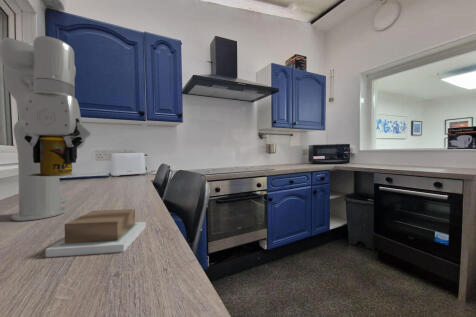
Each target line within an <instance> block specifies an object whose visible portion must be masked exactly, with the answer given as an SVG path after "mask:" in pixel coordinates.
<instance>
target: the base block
mask: <svg viewBox="0 0 476 317" xmlns="http://www.w3.org/2000/svg"><path fill="white" fill-rule="evenodd" d="M135 222H136V209H134V208H132V209H131V208H130V209H110V210H109V209H106V210H105V209H104V210H103V209H102V210H91V211H90V212H88V213H85V214H83V215H81V216H80V217H77V218H75V219H73V220H70V221H68V222H66V223H64V239H65V244H67V243H84V242H101V241H118V240H119V239H120V238H121V237H122V236H123V235H124V234H125V233H126V232H127V231H128V230H130V229H131V228H132V227H133V226H134V225H135Z"/></svg>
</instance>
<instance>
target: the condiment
mask: <svg viewBox="0 0 476 317" xmlns="http://www.w3.org/2000/svg"><path fill="white" fill-rule="evenodd" d="M65 147H67V144H66V142H65V139H64V137H63V135H42V138H41V139H40V173H33V174H31V175H29V176H26V177H34V176H37V177H38V176H40V177H43V176H60V177H68V176H69V177H70V176H73V175H75V173H76V172H73V163H65Z"/></svg>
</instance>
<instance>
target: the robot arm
mask: <svg viewBox="0 0 476 317" xmlns="http://www.w3.org/2000/svg"><path fill="white" fill-rule="evenodd" d="M0 60H1V63H2V65H3V66H4V69H3V80H4V84H5V86H6V89H7V90H8V92H9V94H10V95H11V97H12V98H13V99H14V100H15V102H16V108H17V110H16V111H17V115H18V118H19V120H18V121H16V123H15V124H14V126H13V135H14V140H15V144H16V149H17V150H16V151H17V160H18V161H17V162H18V164H17V165H18V212H16V213H14V214H12V215H11V220H12V221H15V222H23V221H24V222H26V221H34V220H43V219H47V218H50V217H51V218H52V217H57V216H59V215H62V214H64V213H66V211H67V210H66V209H67V208H66V207H63V206H62V205H63V204H66V203H67V202H68V198H67V197H62V198H61V193H60V192H61V188H60V187H61V186H60V185H61V184H60V183H61V182H60V177H61V176H43V177H40V176H38V177H37V176H34V177H26V176H29V175H31V174H33V173H40V139H41V138H42V135H63V137H64V139H65V142H66V144H67V147H65V163H72V164H77V159H78V150H79V149H81V148H82V147H83V146H84V145H85V143H86V139H87V138H89V137H90V136H91V132H90V131H89V130H88V129H86V128H85V127H84V126H83V124H82V117H81V111H80V105H79V102H78V101H79V100H78V99H77V98H76V97H75V96H76V95H75V94H76V93H75V90H76V89H75V87H76V85H75V83H76V82H75V79H76V76H77V75H76V74H77V70H76V65H75V51H74V49H73V48H72V46H71V45H69V44H68V43H67V42H65V41H63V40H62V39H58V38H55V37H51V36H47V35H41V36H37V37H35V38H34V40H33V43H31V42H27V41H20V40H18V39H14V38H11V37H7V36H6V37H4V38H2V40H1V41H0Z"/></svg>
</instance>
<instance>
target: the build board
mask: <svg viewBox="0 0 476 317" xmlns="http://www.w3.org/2000/svg"><path fill="white" fill-rule="evenodd" d="M146 225H147V224H146V221H138V222H137V221H135V225H134V226H133V227H132V228H131V229H130V230H128V231H127V232H126V233H125V234H124V235H123V236H122V237H121V238H120V239H119V240H118V241H101V242H84V243H67V244H65V238H62V239H61V240H60V241H58V242H56V243H54V244H53V245H51V246H49V247H48V248H46V249H45V258H53V257H67V256H68V257H70V256H81V255H82V256H83V255H95V254H96V255H98V254H111V253H124V252H125V251H126V250H127V249H128V248H129V247H130V246H131V244H132V243H133V242H134V241H135V240H136V239H137V237H138V236H139V235H141V234H142V232H143V231H144V230H145V229H146V228H147V226H146Z"/></svg>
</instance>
